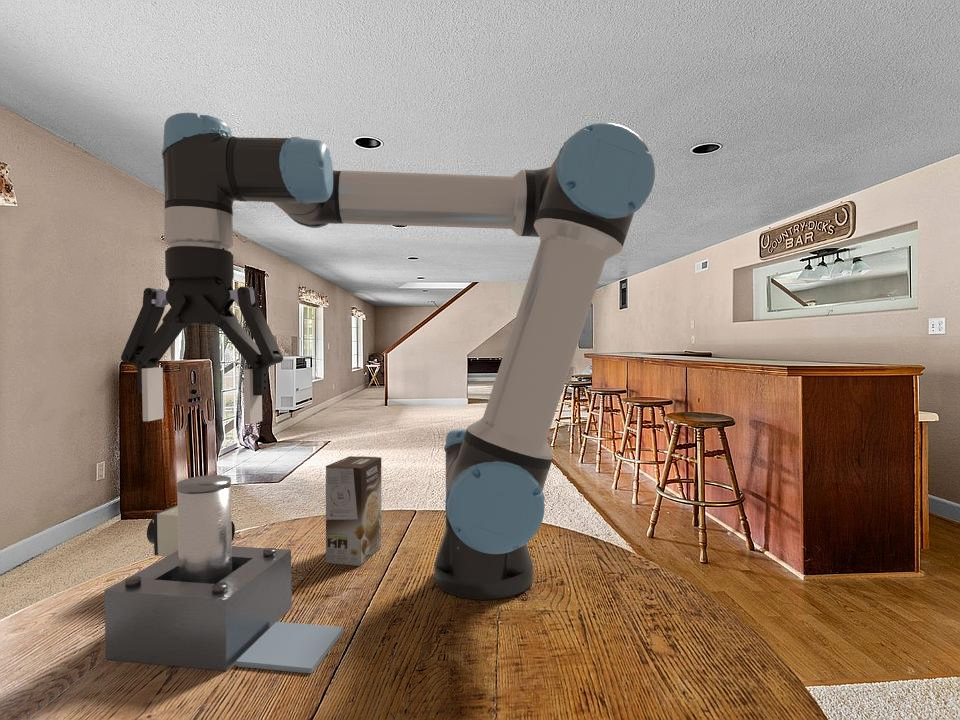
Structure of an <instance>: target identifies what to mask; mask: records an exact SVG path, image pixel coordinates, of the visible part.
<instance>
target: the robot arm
mask: <svg viewBox="0 0 960 720" xmlns="http://www.w3.org/2000/svg"><path fill="white" fill-rule="evenodd" d="M161 156H162V161H163V162H162V166H163V188H164V191H163V192H164V205H163V206H164V210H163V211H164V212H163V215H164V217H163V219H164V221H163V222H164V223H163V225H164V231H163V232H164V233H163V234H164V236H163V237H164V239H163V240H164V242H165V243H166V244H168V245H169V246H170V247H167V248H166V250H165V251H164V261H165V264H164V265H165V270H164V273H165V274H164V275H165V277H166V279H167V280H168V287H167V289H166V290H165V289H162V288H161V289H160V288H152V287H146V288H144V290H143V297H142V306H141V309H140V311H139V314H138V315H137V318H136V321H135V323H134V325H133V328H132V330H131V332H130V334H129V337H128V339H127V342H126V343H125V346H124V349H123V350H122V353H121V356H120V359H121V361H122V362H123V363H128V364H131V365H133V366H134V367H135V368H136V371H137V374H136V376H137V378H136V379H137V380H136V381H137V392H138V394H142V395H141V396H142V397H141V399H142V401H141V402H142V404H141V405H142V422H151V421H157V420H163V419H164V417H165V416H164V414H165V413H164V373H163V372H164V369H163V368H164V367H159V366H160V364H159V362H160V361H161V359H162V358H163V357H164V355H165V354H166V352H167V351H168V349H170V347H171V345H172V344H173V343H174V342H175V341H176V339H177V338H178V336H179V335H180V334H181V333H182V332H183V330H184V329H185V328H186V329H187V327H189V325H195V326H196V325H197V326H199V325H200V326H201V325H210V326H211V325H213V326H215V327H216V328H217V327H218V328H219V330H221V331H222V333H223V334H224V335H225V336H226V338H227V339H228V340H229V341H230V343H231V345H233V347H234V348H235V349H236V350H237V351H238V353H239V354H240V355H241V357H243V359H244V361H245V362H246V363H247V364H248V366H247V369H243V405H244V409H243V410H244V411H243V412H244V413H243V414H244V415H243V416H244V425H252V424H256V423H259V422H263V396H265V395H267V394H268V391H269V382H268V381H269V380H268V379H269V376H268V375H269V373H268V371H269V368H270V367H272V366H274V365H276V364H279V363H282V362H283V360H284V355H283V353H282V352H281V351H282V350H281V349H280V347H279V346H278V343H277V341H276V338H275V337H274V334H273V333H272V330H271V328H270V326H269V324H268V322H267V319H266V317H265V315H264V313H263V312H262V310H261V307H260V304H259V294H258V290H257V289H255V288H254V287H248V286H239V287H238V288H237V289H234V288H233V285H232V284H233V280H234V276H235V275H234V272H235V271H234V254H232V252H231V251H230V250H229V249H231V248H232V247H233V246H234V240H233V237H234V235H233V233H234V231H233V228H234V227H233V226H234V225H233V224H234V223H233V219H234V218H233V216H234V215H233V213H234V210H233V207H234V205H233V204H234V202H258V203H259V202H261V203H273V204H274V205H276V206H277V207H278V208H279V209H281V210H282V211H283V212H284V213H285V214H286V215H287V216H288V217H289V218H290V219H291V220H293V222H295V223H297V224H299V225H301V226H303V227H308V228H311V229H320V228H323V227H325V226H327V225H328V224H334V225H337V224H341V225H342V224H345V225H346V224H347V225H351V224H352V225H375V226H377V225H378V226H379V225H380V226H382V225H383V226H406V227H407V226H409V227H410V226H411V227H439V228H441V227H442V228H443V227H445V228H446V227H447V228H466V229H467V228H468V229H469V228H470V229H471V228H473V229H474V228H475V229H501V230H503V229H505V230H512V231H513V233H514V234H516V236H517V237H529V238H530V237H532V238H539V240H540V241H539V242H540V243H539V246H538V249H537V251H536V255H535V257H534V261H533V264H532V267H531V270H530V272H529V276H528V279H527V282H526V285H525V288H524V290H523V291H524V292H523V294H522V297H521V301H520V303H519V307H518V309H517V313H516V317H515V318H514V322H513V324H512V328H511V331H510V334H509V337H508V340H507V343H506V347H505V349H504V352H503V356H502V359H501V362H500V365H499V367H498V371H497V374H496V377H495V380H494V383H493V386H492V388H491V392H490V394H489V395H490V396H489V397H488V398H489V399H488V400H487V401H488V402H487V404H486V408H485V410H484V413H483V417H482V418H480V419H479V420H477V421H475V422H474V423H471V424H469V425H468V426H467V428H465V429H454V430H450V431H449V432H448V433H447V434H446V436H445V445H444V447H443V449H444V452H445V502H444V503H445V530H444V533H443V536H442V539H441V542H440V545H439V549H438V551H437V554H436V558H435V560H434V561H435V562H434V566H433V576H434V577H433V578H434V579H433V580H434V583H435V584H436V586H437V587H438V588H439V589H440V590H442V591H444V592H445V593H447V594H449V595H452V596H455V597H459V598H464V599H470V600H497V599H505V598H510V597H514V596H516V595H518V594H520V593H523V592H525V591H526V590H527V589H529V588H530V586H531V585H532V584H533V581H534V563H533V561H532V557H531V555H530V550H529V548H528V543H529V542H530V541H531V540H532V539H533V538H534V537H535V536H536V534H538V531H539V530H540V528H541V525H542V522H543V520H544V516H545V507H546V505H545V500H546V499H545V495H544V492H543V490H544V487H545V484H546V482H547V479H548V478H547V477H548V476H549V475H548V474H549V471H550V469H551V465H552V463H553V460H554V456H555V455H554V453H553V451H552V449H551V446H550V445H549V442H548V437H549V433H550V430H551V427H552V424H553V420H554V418H555V415H556V412H557V409H558V405H559V403H560V400H561V396H562V393H563V390H564V388H565V384H566V382H567V378H568V375H569V372H570V370H571V366H572V364H573V361H574V357H575V355H576V350H577V348H578V344H579V342H580V339H581V335H582V333H583V330H584V327H585V324H586V321H587V317H588V315H589V313H590V312H589V311H590V308H591V306H592V304H593V303H592V302H593V299H594V296H595V294H596V291H597V287H598V285H599V281H600V278H601V275H602V272H603V269H604V266H605V262H606V261H608V259H611V258H612V257H613V258H614V257H615V256H616V255H618V254H620V253H622V250H623V247H624V244H625V241H626V240H627V239H626V238H627V235H628V233H629V229H630V227H631V224H632V221H633V218H634V216H635V215H634V214H635V213H636V212H638V211H639V210H640V209H641V208H642V206H643V205H644V204H645V203H646V201H647V199H648V198H649V196H650V194H651V192H652V190H653V187H654V185H655V184H654V183H655V179H656V167H655V162H654V161H655V160H654V158H653V155H652V153H651V151H650V149H649V147H648V146H647V144H646V142H645V141H644V140H643V139H642V138H641V136H639V135H638V134H637V133H636V132H634V131H633V130H631V129H630V128H628V127H626V126H623V125H622V124H617V123H614V122H597V123H592V124H589V125H586V126H584V127H582V128H580V129H579V130H577V131H576V132H575V133H574V134H573V135H571V136H570V137H569V138H568V139H567V140H566V141H564V143H563V145H562V147H561V148H560V149H559V151H558V154H557V156H556V158H555V159H554V161H553V163H552V164H551V166H549V167H545V168H541V169H520V170H519V171H518V172H517V173H516V174H515V175H513V176H508V175H507V176H506V175H479V174H454V173H453V174H451V173H449V174H448V173H446V174H445V173H421V172H397V171H396V172H395V171H369V170H368V171H365V170H363V171H362V170H334V167H333V160H332V157H331V152H330V149H329V147H328V145H327V144H326V143H325V142H324V141H321V140H318V139H312V138H311V139H310V138H303V137H299V136H293V137H292V136H291V137H245V136H243V137H241V136H233V134H232V129H231V127H230V126H229V124H228V123H227V122H225V120H222V119H221V118H218V117H216V116H212V115H209V114H200V113H198V112H180V113H175V114H173V115H170V116H169V117H168V118H167V119H166V120H165V122H164V127H163V145H162V150H161ZM234 303H235V304H236V305H237V306H238V307H239V310H240V313H241V315H242V316H243V319H244V322H245V323H246V325H247V328H248V330H249V331H250V334H251V336H250V335H249V334H248V332H247V331H246V330H245V329H244V327H243V326H242V325H241V323H240V322H239V321H240V320H239V318H238V317H237V315H235V313H234V312H233V311H232V309H231V307H232V305H233V304H234ZM168 305H169V306H170V308H169V309H168V311H167V312H166V313H165V315H164V312H165V309H166V306H168ZM163 315H164V317H163ZM161 320H162V323H161V324H160V322H161ZM159 324H160V326H159ZM158 326H159V327H158ZM251 337H252V338H253V339H252V338H251Z"/></svg>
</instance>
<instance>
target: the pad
mask: <svg viewBox="0 0 960 720" xmlns="http://www.w3.org/2000/svg"><path fill="white" fill-rule="evenodd" d="M344 628H345V626H337V625H335V626H334V625H333V626H332V625H322V624H311V623H298V622H286V621H277V622H276V623H275V624H274V625H273V626H272V627H270V628H269V629H268V630H267V631H266V632H265V633H264V634H263V635H262V636H261V637H260V638H259V639H258V640H257V641H256V642H255V643H254V644H253V645H252V646H251V647H250V648H249V649H248V650H247V651H246V652H245V653H244V654H243V655H242V656H241V657H240V658H239V659H238V660H237V661H236V662H235V667H238V668H250V669H259V670H271V671H278V672H279V671H281V672H291V673H302V674H311V675H312V674H313V673H314V671H315V670H316V669H318V666H319V665H320V663H321V662H322V661H323V660H324V658H325V657H326V656H327V655H328V653H329V652H330V650H331V649H332V648H333V647H334V646H335V644H336V642H338V640H339V639H340V637H341V636H342V635H343V634H344V633H345V632H344V631H345V629H344Z"/></svg>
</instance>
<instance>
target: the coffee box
mask: <svg viewBox="0 0 960 720" xmlns="http://www.w3.org/2000/svg"><path fill="white" fill-rule="evenodd" d="M382 459H383V457H378V456H352V455H350V456H347V457H345V458H342V459H340V460H338V461H335V462H333V463H330V464H328V465H325V563H326V564H334V565H342V566H343V565H346V566H355V567H359V566H361V565H363V564H364V563H365V562H366V561H367V560H369V558H371V557H372V556H373V555H374V554H375V553H376V552H377V551H379V549H381V548H382Z"/></svg>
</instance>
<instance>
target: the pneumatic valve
mask: <svg viewBox="0 0 960 720" xmlns="http://www.w3.org/2000/svg"><path fill="white" fill-rule="evenodd" d="M231 522H232V542H233V541H234V538H235V534H236V527H235V526H236V525H235V523H234V521H233V520H232V519H231ZM146 539H147V540H148V542H149V543H150V544H152V545H153V546H152V549H154V550H153V553H154V556H157V557H167V556H169V555H170V554H172V553H174V552H176V551H178V504H177V505H176V504H175V505H173V506H171V507H169V508H166V509H163V510H160V511H159V512H156V513H154V514H153V517H152V519H151V520H150V521H149V524H148V525H147V529H146Z"/></svg>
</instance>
